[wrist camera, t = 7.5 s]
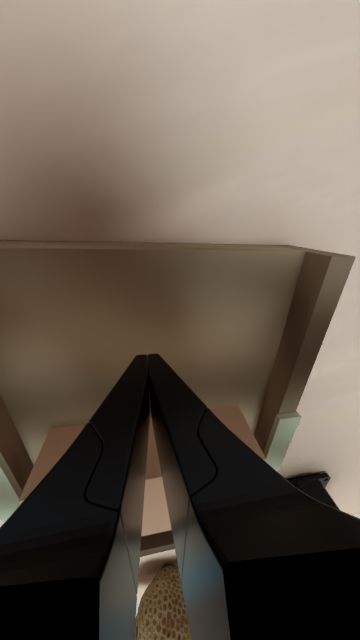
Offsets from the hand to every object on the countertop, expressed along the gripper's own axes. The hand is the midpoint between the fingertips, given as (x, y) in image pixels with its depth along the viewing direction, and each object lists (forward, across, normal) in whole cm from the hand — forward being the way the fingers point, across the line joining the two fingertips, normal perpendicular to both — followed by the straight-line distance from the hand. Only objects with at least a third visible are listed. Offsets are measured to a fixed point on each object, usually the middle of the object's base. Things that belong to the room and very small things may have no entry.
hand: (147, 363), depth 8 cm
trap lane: (+4, 0, +7) cm, 8 cm away
